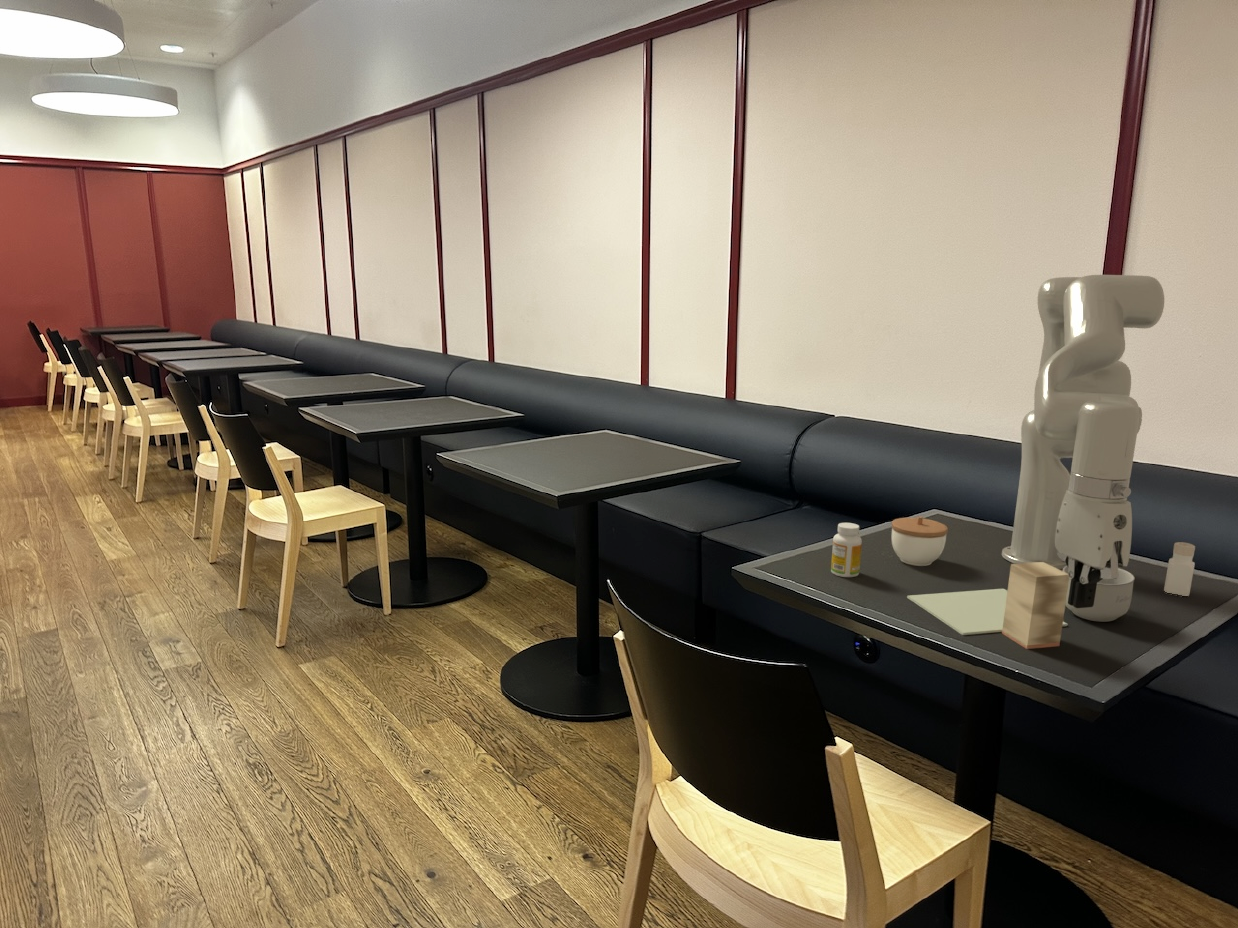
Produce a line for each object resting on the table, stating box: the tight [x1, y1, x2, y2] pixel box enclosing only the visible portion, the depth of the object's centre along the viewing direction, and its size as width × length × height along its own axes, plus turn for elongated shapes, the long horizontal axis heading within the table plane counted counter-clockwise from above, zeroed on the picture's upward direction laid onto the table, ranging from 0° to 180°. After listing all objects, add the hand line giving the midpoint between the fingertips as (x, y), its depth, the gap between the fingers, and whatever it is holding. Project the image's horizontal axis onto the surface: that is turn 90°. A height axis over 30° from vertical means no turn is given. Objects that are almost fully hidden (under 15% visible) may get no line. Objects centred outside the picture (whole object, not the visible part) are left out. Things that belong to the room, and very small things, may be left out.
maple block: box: [1001, 562, 1069, 650], centre depth 138 cm, size 6×6×12 cm
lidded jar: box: [891, 515, 949, 567], centre depth 175 cm, size 11×11×9 cm
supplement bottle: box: [830, 522, 863, 578], centre depth 167 cm, size 5×5×10 cm
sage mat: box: [906, 588, 1068, 636], centre depth 150 cm, size 20×16×1 cm
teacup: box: [1062, 566, 1135, 623], centre depth 150 cm, size 14×11×8 cm
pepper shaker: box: [1163, 541, 1196, 597], centre depth 160 cm, size 4×4×10 cm
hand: (1080, 605), depth 129 cm, fingers closed
